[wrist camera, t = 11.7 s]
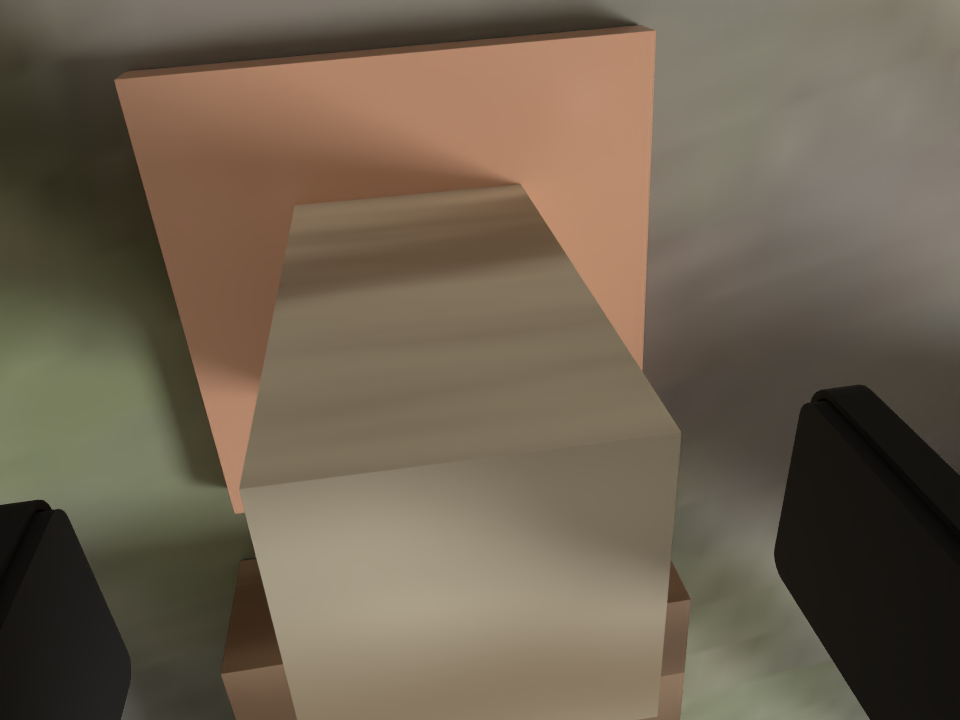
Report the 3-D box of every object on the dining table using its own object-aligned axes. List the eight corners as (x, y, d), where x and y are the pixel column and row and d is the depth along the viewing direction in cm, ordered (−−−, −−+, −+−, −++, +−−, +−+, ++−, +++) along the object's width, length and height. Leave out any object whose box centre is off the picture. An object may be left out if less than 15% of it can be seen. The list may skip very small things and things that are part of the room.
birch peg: (294, 205, 17) (238, 488, 9) (520, 183, 18) (681, 432, 9) (328, 399, 20) (310, 772, 11) (526, 376, 20) (657, 716, 12)
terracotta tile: (126, 71, 17) (114, 80, 16) (640, 24, 18) (656, 30, 17) (239, 490, 22) (234, 513, 21) (628, 436, 23) (638, 456, 22)
